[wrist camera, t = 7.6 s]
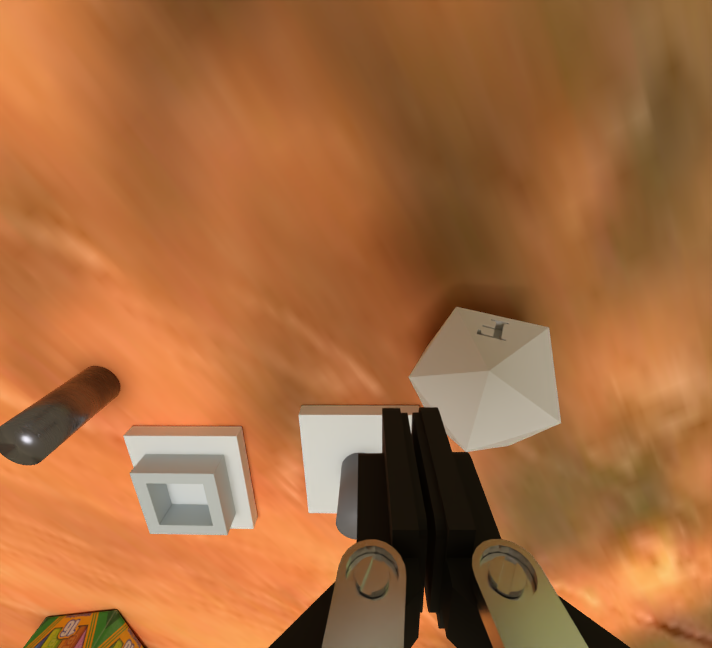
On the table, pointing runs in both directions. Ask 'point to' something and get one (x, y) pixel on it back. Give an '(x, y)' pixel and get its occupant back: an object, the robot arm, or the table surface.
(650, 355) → the table surface
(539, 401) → the die
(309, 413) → the peg stand
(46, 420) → the pin
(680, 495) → the table surface
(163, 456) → the socket board
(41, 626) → the chalk box
